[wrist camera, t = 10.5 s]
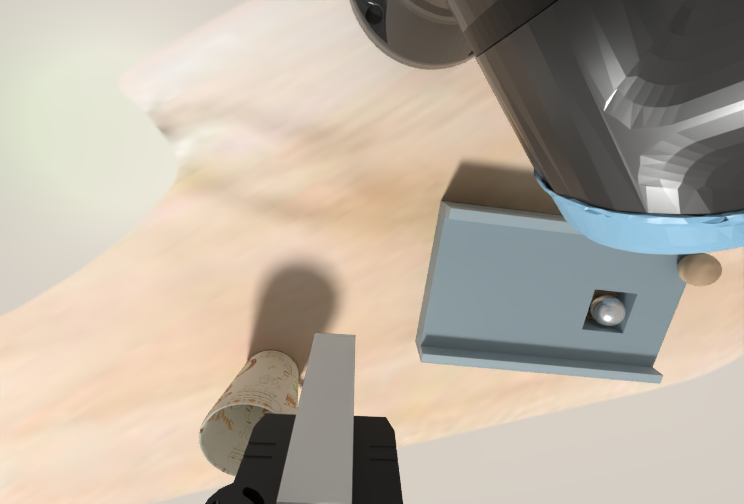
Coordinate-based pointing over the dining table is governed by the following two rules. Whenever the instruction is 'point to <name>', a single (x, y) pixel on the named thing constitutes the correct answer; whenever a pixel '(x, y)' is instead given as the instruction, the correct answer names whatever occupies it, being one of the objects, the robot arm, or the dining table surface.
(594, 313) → the steel ball
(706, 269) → the cork ball
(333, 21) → the dining table surface
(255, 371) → the mug
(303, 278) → the dining table surface
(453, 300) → the plate
